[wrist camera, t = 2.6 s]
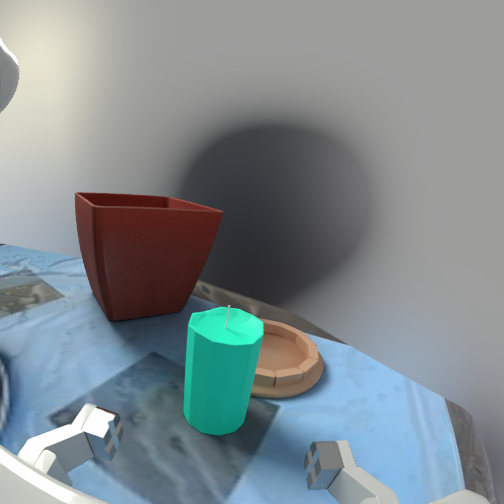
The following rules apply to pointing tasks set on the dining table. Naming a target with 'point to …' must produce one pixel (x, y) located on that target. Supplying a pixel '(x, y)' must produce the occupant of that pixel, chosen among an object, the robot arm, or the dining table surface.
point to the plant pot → (143, 250)
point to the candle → (220, 368)
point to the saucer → (285, 362)
